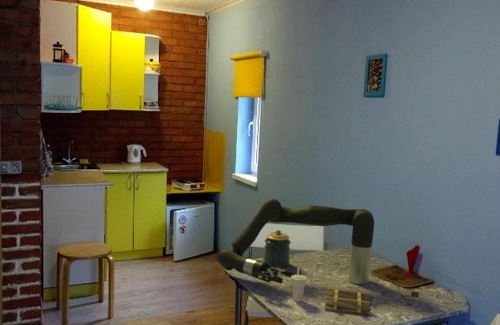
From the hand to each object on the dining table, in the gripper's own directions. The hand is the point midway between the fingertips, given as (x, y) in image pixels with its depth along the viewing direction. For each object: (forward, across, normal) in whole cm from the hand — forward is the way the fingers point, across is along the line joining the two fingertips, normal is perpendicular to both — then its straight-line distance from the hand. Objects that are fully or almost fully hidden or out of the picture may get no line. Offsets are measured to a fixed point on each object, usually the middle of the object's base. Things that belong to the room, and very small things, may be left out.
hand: (287, 278), depth 200 cm
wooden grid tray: (+23, +10, +8) cm, 26 cm away
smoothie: (+5, 0, +8) cm, 10 cm away
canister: (-26, +31, +8) cm, 41 cm away
